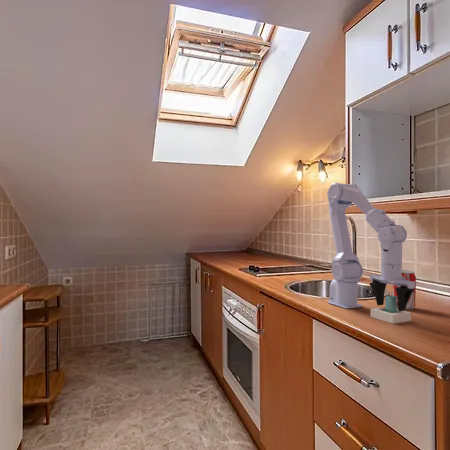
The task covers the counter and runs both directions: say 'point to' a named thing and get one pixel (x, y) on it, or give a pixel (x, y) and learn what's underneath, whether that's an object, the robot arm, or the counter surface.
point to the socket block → (390, 315)
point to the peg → (390, 303)
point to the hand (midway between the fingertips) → (390, 307)
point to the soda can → (411, 302)
